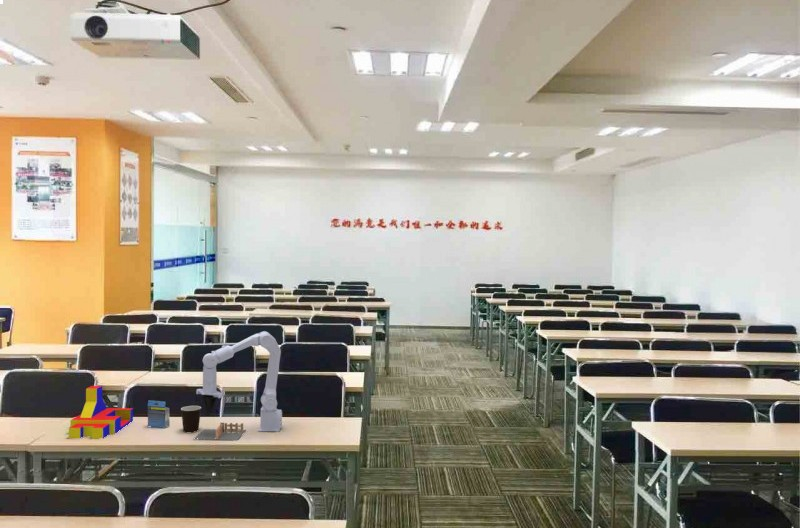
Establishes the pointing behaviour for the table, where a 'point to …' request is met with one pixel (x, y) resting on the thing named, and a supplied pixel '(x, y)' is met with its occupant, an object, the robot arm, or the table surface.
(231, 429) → the fixed fence
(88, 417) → the building blocks toy
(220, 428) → the fence panel
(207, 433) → the mat
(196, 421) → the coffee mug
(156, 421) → the label tape box
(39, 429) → the table surface
